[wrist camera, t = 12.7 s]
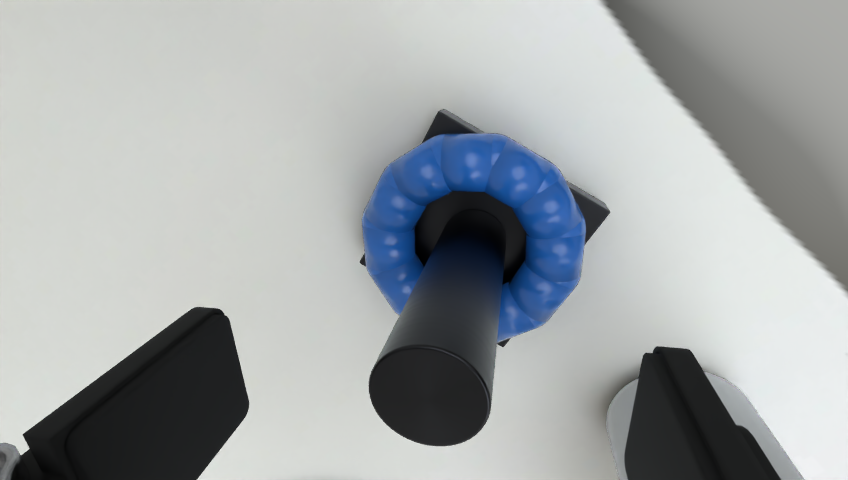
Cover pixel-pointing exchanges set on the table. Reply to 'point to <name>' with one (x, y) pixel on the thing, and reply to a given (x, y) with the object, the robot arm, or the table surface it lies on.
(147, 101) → the table surface
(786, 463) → the beverage can
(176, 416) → the robot arm
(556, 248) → the ring
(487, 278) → the peg stand
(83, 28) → the table surface
